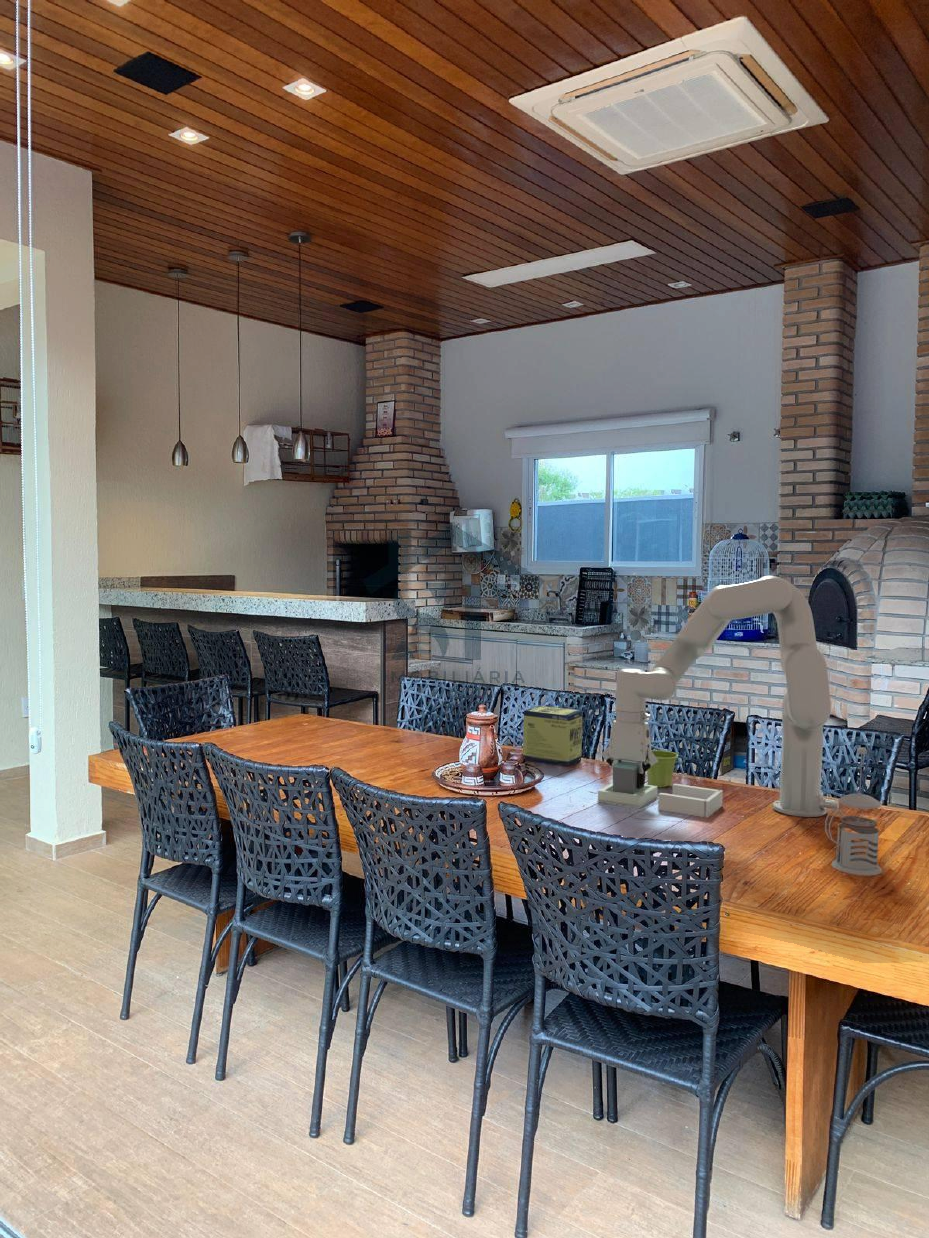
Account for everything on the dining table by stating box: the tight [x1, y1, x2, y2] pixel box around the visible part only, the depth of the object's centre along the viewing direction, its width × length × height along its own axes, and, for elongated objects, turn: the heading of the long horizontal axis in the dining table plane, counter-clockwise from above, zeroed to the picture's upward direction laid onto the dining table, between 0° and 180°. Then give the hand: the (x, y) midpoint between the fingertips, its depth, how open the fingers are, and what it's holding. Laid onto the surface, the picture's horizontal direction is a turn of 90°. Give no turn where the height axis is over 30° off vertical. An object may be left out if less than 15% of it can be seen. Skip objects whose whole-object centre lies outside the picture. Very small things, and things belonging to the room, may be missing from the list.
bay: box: [657, 783, 724, 818], centre depth 235 cm, size 12×12×4 cm
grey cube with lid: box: [612, 760, 644, 795], centre depth 242 cm, size 6×8×7 cm
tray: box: [597, 782, 658, 809], centre depth 242 cm, size 11×13×3 cm
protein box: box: [522, 705, 583, 767], centre depth 286 cm, size 10×16×16 cm
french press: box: [824, 747, 883, 877], centre depth 191 cm, size 10×12×25 cm
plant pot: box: [645, 749, 679, 788], centre depth 257 cm, size 9×9×9 cm
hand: (628, 785), depth 242 cm, fingers closed on grey cube with lid, 5 cm apart
